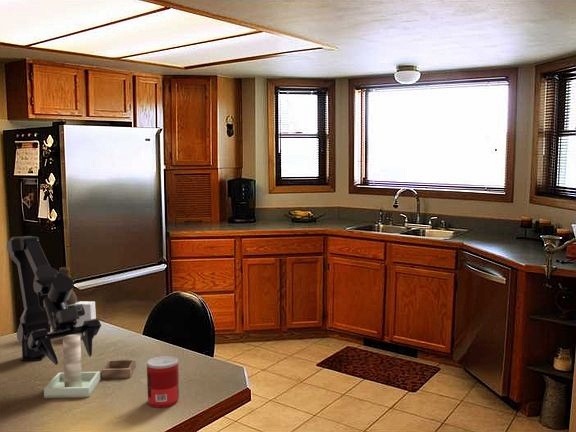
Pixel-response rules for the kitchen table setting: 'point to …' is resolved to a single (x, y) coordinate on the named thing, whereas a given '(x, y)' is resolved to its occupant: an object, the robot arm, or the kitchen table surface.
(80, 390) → the tray
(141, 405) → the kitchen table surface
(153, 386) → the canned food
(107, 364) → the brown square open box
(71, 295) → the beer bottle
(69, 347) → the peg
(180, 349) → the kitchen table surface
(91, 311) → the skincare box
